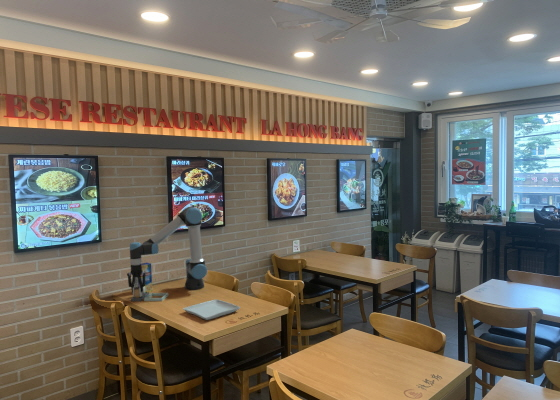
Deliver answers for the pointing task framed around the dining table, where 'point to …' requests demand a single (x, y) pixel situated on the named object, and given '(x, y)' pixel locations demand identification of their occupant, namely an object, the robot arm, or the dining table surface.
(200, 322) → the dining table surface
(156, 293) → the parts tray
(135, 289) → the fuse
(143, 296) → the fuse block
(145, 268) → the beverage box
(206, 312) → the square plate
